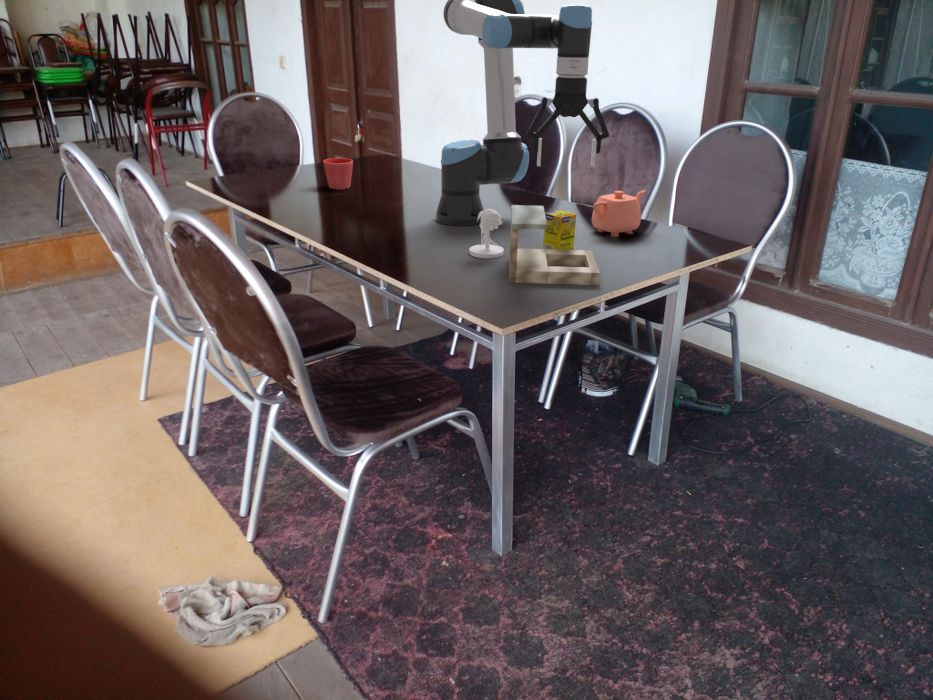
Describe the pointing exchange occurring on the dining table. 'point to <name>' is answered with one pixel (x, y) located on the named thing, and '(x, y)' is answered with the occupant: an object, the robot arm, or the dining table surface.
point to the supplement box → (559, 230)
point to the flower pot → (338, 172)
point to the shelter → (546, 255)
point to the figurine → (488, 235)
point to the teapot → (617, 213)
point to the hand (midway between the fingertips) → (565, 166)
